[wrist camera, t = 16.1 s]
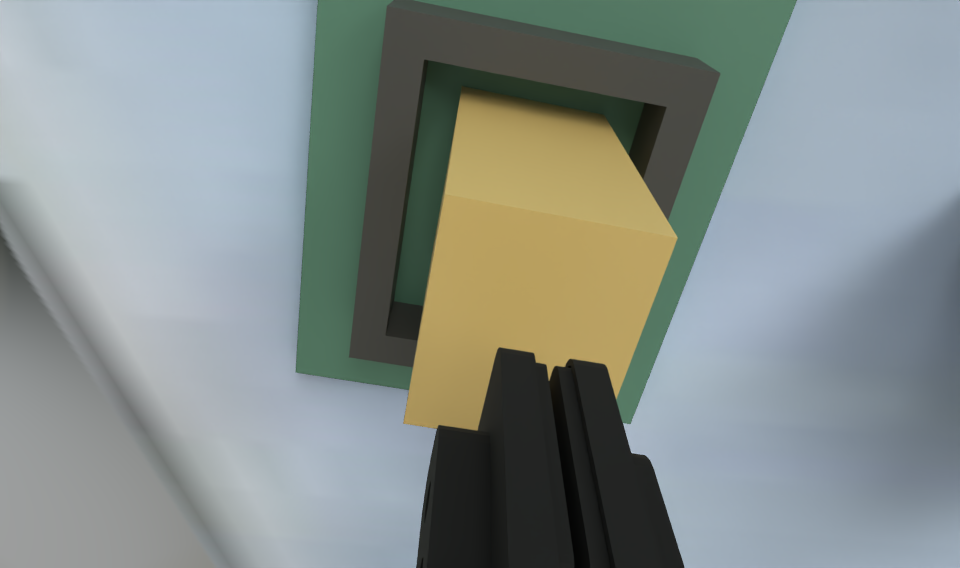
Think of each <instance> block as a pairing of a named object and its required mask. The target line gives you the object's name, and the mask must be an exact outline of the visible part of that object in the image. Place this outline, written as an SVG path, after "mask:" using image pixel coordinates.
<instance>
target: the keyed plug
mask: <svg viewBox="0 0 960 568" xmlns="http://www.w3.org/2000/svg"><path fill="white" fill-rule="evenodd" d="M677 239H678V237H677V236H676V234H675V232H674V231H673V229H672V227H671V226H670V224H669V222H668V221H667V219H666V217H665V216H664V214H663V212H662V211H661V209H660V207H659V206H658V204H657V202H656V201H655V199H654V197H653V196H652V194H651V192H650V191H649V189H648V187H647V186H646V184H645V182H644V181H643V179H642V177H641V176H640V174H639V172H638V171H637V169H636V167H635V166H634V164H633V162H632V161H631V159H630V157H629V156H628V154H627V152H626V151H625V149H624V147H623V146H622V144H621V142H620V141H619V139H618V137H617V136H616V134H615V132H614V131H613V129H612V127H611V126H610V124H609V122H608V121H607V119H606V117H605V116H604V115H602V114H597V113H592V112H587V111H582V110H577V109H572V108H567V107H563V106H558V105H553V104H548V103H543V102H538V101H533V100H528V99H523V98H518V97H513V96H508V95H503V94H498V93H493V92H488V91H483V90H478V89H473V88H468V87H463V86H462V88H461V94H460V100H459V105H458V111H457V117H456V122H455V128H454V133H453V139H452V145H451V150H450V156H449V161H448V167H447V173H446V178H445V184H444V190H443V195H442V201H441V206H440V212H439V218H438V223H437V229H436V235H435V240H434V246H433V252H432V257H431V263H430V269H429V275H428V281H427V287H426V293H425V299H424V305H423V311H422V317H421V322H420V328H419V334H418V340H417V346H416V352H415V358H414V364H413V370H412V376H411V382H410V388H409V393H408V399H407V405H406V411H405V417H404V423H403V424H410V425H416V426H422V427H429V428H435V429H437V428H438V425H443V426H450V427H457V428H464V429H470V430H478V426H479V422H480V418H481V413H482V409H483V405H484V401H485V397H486V393H487V389H488V385H489V380H490V376H491V372H492V368H493V364H494V360H495V356H496V352H497V350H498V348H499V347H501V348H507V349H514V350H520V351H526V352H532V353H534V355H535V360H536V363H542V364H546V366H547V371H548V378H549V380H550V377H551V373H552V371H553V368H554V367H555V366H561V367H565V365H566V363H567V361H568V360H569V359H576V360H582V361H589V362H595V363H601V364H605V365H606V367H607V369H608V372H609V376H610V379H611V383H612V387H613V390H614V394H615V397H616V399H617V396H618V394H619V391H620V388H621V386H622V383H623V380H624V378H625V375H626V373H627V370H628V367H629V365H630V362H631V359H632V357H633V354H634V351H635V349H636V346H637V344H638V341H639V338H640V336H641V333H642V330H643V328H644V325H645V323H646V320H647V317H648V315H649V312H650V309H651V307H652V304H653V302H654V299H655V296H656V294H657V291H658V288H659V286H660V283H661V281H662V278H663V275H664V273H665V270H666V267H667V265H668V262H669V260H670V257H671V254H672V252H673V249H674V246H675V244H676V241H677Z"/></svg>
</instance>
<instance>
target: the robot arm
mask: <svg viewBox="0 0 960 568" xmlns="http://www.w3.org/2000/svg"><path fill="white" fill-rule="evenodd" d="M416 568H684V565H683V561H682V558H681V555H680V552H679V549H678V545H677V542H676V539H675V536H674V533H673V529H672V526H671V523H670V520H669V517H668V513H667V510H666V507H665V504H664V501H663V497H662V494H661V491H660V488H659V485H658V482H657V478H656V475H655V472H654V469H653V466H652V464H651V462H650V460H649V459H648V458H647V457H646V456H645V455H639V454H632V453H631V451H630V447H629V444H628V440H627V437H626V433H625V429H624V426H623V422H622V419H621V415H620V412H619V408H618V404H617V401H616V397H615V394H614V390H613V387H612V383H611V379H610V376H609V372H608V369H607V367H606V365H605V364H601V363H595V362H589V361H582V360H576V359H569V360H568V361H567V363H566V365H565V367H561V366H555V367H554V368H553V371H552V373H551V377H550V380H549V378H548V371H547V366H546V364H542V363H536V360H535V355H534V353H532V352H526V351H520V350H514V349H507V348H501V347H499V348H498V350H497V352H496V356H495V360H494V364H493V368H492V372H491V376H490V380H489V385H488V389H487V393H486V397H485V401H484V405H483V409H482V413H481V418H480V422H479V426H478V430H470V429H464V428H457V427H450V426H443V425H438V428H437V431H436V436H435V440H434V445H433V450H432V455H431V460H430V465H429V471H428V477H427V483H426V489H425V496H424V503H423V511H422V520H421V529H420V538H419V548H418V557H417V566H416Z"/></svg>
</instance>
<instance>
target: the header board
mask: <svg viewBox="0 0 960 568" xmlns="http://www.w3.org/2000/svg"><path fill="white" fill-rule="evenodd" d="M796 1H797V0H318V6H317V23H316V40H315V56H314V73H313V90H312V107H311V123H310V140H309V157H308V174H307V190H306V207H305V224H304V241H303V258H302V274H301V291H300V308H299V325H298V341H297V358H296V373H303V374H309V375H316V376H322V377H329V378H335V379H342V380H348V381H355V382H361V383H367V384H374V385H380V386H387V387H393V388H400V389H406V390H409V388H410V382H411V376H412V370H413V364H414V358H415V352H416V346H417V340H418V334H419V328H420V322H421V317H422V311H423V305H424V299H425V293H426V287H427V281H428V275H429V269H430V263H431V257H432V252H433V246H434V240H435V235H436V229H437V223H438V218H439V212H440V206H441V201H442V195H443V190H444V184H445V178H446V173H447V167H448V161H449V156H450V150H451V145H452V139H453V133H454V128H455V122H456V117H457V111H458V105H459V100H460V94H461V88H462V86H463V87H468V88H473V89H478V90H483V91H488V92H493V93H498V94H503V95H508V96H513V97H518V98H523V99H528V100H533V101H538V102H543V103H548V104H553V105H558V106H563V107H567V108H572V109H577V110H582V111H587V112H592V113H597V114H602V115H604V116H605V117H606V119H607V121H608V122H609V124H610V126H611V127H612V129H613V131H614V132H615V134H616V136H617V137H618V139H619V141H620V142H621V144H622V146H623V147H624V149H625V151H626V152H627V154H628V156H629V157H630V159H631V161H632V162H633V164H634V166H635V167H636V169H637V171H638V172H639V174H640V176H641V177H642V179H643V181H644V182H645V184H646V186H647V187H648V189H649V191H650V192H651V194H652V196H653V197H654V199H655V201H656V202H657V204H658V206H659V207H660V209H661V211H662V212H663V214H664V216H665V217H666V219H667V221H668V222H669V224H670V226H671V227H672V229H673V231H674V232H675V234H676V236H677V237H678V239H677V241H676V244H675V246H674V249H673V252H672V254H671V257H670V260H669V262H668V265H667V267H666V270H665V273H664V275H663V278H662V281H661V283H660V286H659V288H658V291H657V294H656V296H655V299H654V302H653V304H652V307H651V309H650V312H649V315H648V317H647V320H646V323H645V325H644V328H643V330H642V333H641V336H640V338H639V341H638V344H637V346H636V349H635V351H634V354H633V357H632V359H631V362H630V365H629V367H628V370H627V373H626V375H625V378H624V380H623V383H622V386H621V388H620V391H619V394H618V396H617V399H616V401H617V404H618V408H619V412H620V415H621V419H622V422H623V423H627V424H631V421H632V418H633V416H634V413H635V411H636V408H637V406H638V403H639V401H640V398H641V396H642V393H643V391H644V388H645V385H646V383H647V380H648V378H649V375H650V373H651V370H652V368H653V365H654V363H655V360H656V357H657V355H658V352H659V350H660V347H661V345H662V342H663V340H664V337H665V335H666V332H667V329H668V327H669V324H670V322H671V319H672V317H673V314H674V312H675V309H676V307H677V304H678V301H679V299H680V296H681V294H682V291H683V289H684V286H685V284H686V281H687V279H688V276H689V273H690V271H691V268H692V266H693V263H694V261H695V258H696V256H697V253H698V251H699V248H700V246H701V243H702V240H703V238H704V235H705V233H706V230H707V228H708V225H709V223H710V220H711V218H712V215H713V212H714V210H715V207H716V205H717V202H718V200H719V197H720V195H721V192H722V190H723V187H724V184H725V182H726V179H727V177H728V174H729V172H730V169H731V167H732V164H733V162H734V159H735V156H736V154H737V151H738V149H739V146H740V144H741V141H742V139H743V136H744V134H745V131H746V129H747V126H748V123H749V121H750V118H751V116H752V113H753V111H754V108H755V106H756V103H757V101H758V98H759V95H760V93H761V90H762V88H763V85H764V83H765V80H766V78H767V75H768V73H769V70H770V67H771V65H772V62H773V60H774V57H775V55H776V52H777V50H778V47H779V45H780V42H781V39H782V37H783V34H784V32H785V29H786V27H787V24H788V22H789V19H790V17H791V14H792V12H793V9H794V6H795V4H796Z"/></svg>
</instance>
